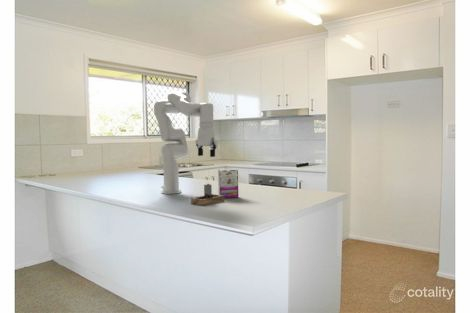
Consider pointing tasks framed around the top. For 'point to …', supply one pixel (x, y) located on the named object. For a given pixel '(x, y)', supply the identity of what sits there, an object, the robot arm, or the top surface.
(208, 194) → the battery cell
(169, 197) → the top surface
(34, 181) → the top surface
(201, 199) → the tray
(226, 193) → the candy bar box
